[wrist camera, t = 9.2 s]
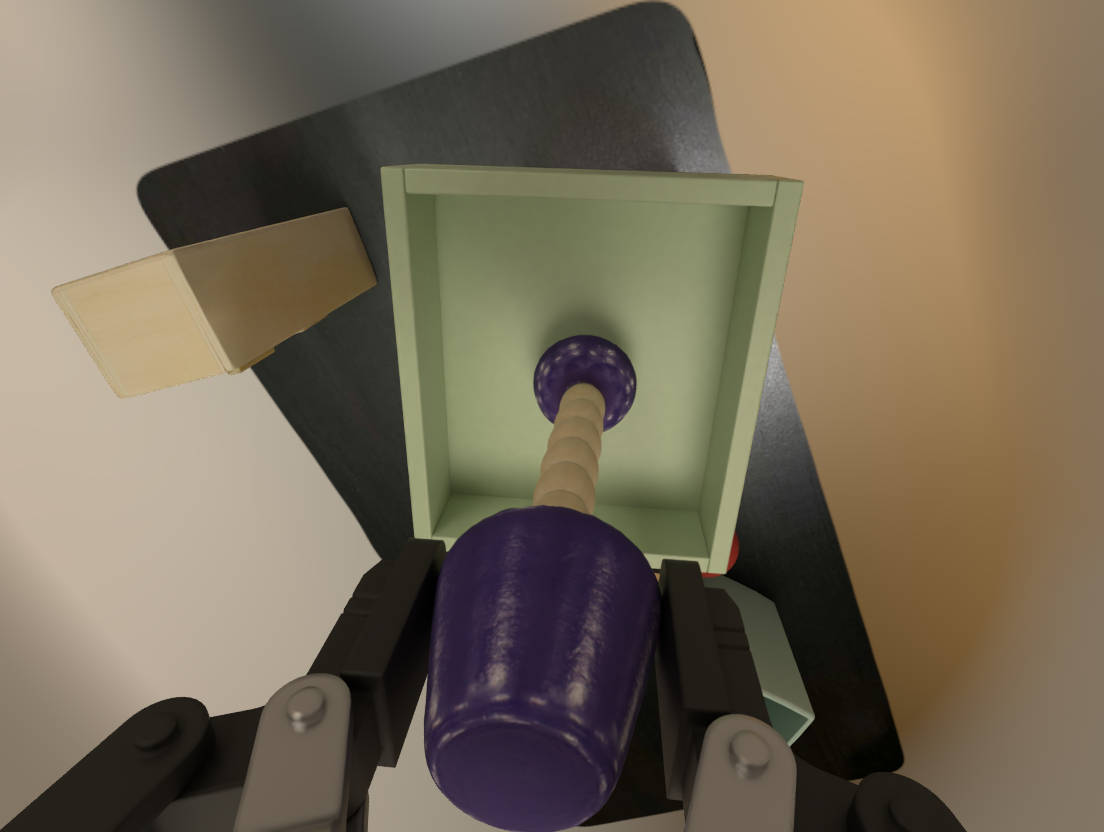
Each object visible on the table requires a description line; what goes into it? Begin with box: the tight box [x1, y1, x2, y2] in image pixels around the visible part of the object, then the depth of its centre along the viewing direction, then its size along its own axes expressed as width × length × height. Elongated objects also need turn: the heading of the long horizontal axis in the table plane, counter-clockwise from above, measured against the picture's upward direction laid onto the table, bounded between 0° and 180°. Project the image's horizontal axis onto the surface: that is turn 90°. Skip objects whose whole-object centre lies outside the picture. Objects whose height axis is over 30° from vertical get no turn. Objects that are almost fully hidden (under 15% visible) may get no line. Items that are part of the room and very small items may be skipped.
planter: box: [702, 575, 815, 746], centre depth 52 cm, size 16×8×20 cm, turn 20°
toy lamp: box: [424, 335, 662, 832], centre depth 16 cm, size 5×5×17 cm
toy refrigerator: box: [52, 207, 377, 398], centre depth 40 cm, size 8×7×21 cm
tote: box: [381, 164, 804, 574], centre depth 23 cm, size 16×14×4 cm
